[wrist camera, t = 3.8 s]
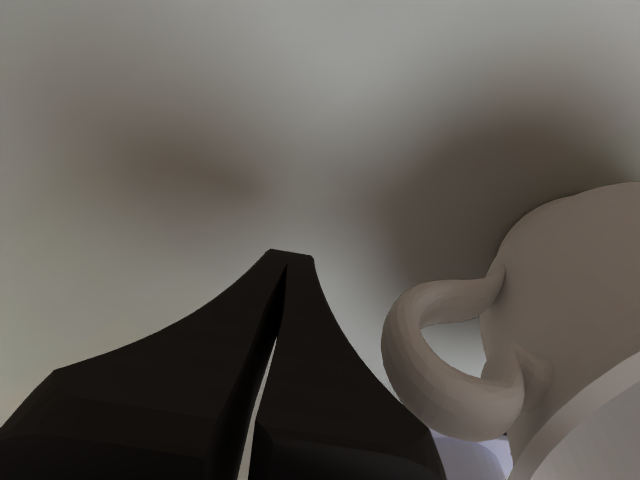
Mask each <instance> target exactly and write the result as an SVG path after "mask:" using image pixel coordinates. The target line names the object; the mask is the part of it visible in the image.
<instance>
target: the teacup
mask: <svg viewBox="0 0 640 480" xmlns="http://www.w3.org/2000/svg"><path fill="white" fill-rule="evenodd" d="M477 316H479V319H480V331H481V336H482V342H483V347H484V351H485V355H486V359H487V361H486V363H485V365H484V368H483V370H482V373H481V378H478V377H474V376H471V375H467V374H465V373H463V372H461V371H459V370H457V369H455V368H453V367H451V366H450V365H448V364H447V363H446V362H444V361H443V360H441V359H440V358H439V357H438V355H437V354H436V353H435V352H434V351H433V350H432V349H431V348H430V347H429V345H428V344H427V342H426V341H425V339H424V338H423V336H422V334H421V331H420V329H422V328H424V327H426V326H430V325H434V324H441V323H453V322H461V321H465V320H469V319H473V318H475V317H477ZM381 352H382V358H383V365H384V368H385V371H386V373H387V376H388V378H389V381H390V383H391V385H392V387H393V389H394V391H395V392H396V394H397V396H398V397H399V399H400V401H401V402H402V403H403V405H404V406H405V407H406V408H407V409H408V410H409V411H410V412H412V413H413V414H414V415H415V416H416V417H417V418H418V419H419V420H420V421H421V422H423V423H424V424H425V425H426V426H427V427H429V428H430V429H432V430H434V431H436V432H438V433H440V434H442V435H444V436H448V437H451V438H455V439H458V440H462V441H469V442H483V441H489V440H494V439H496V438H498V437H500V436H502V435H503V434H504V433H505V432H507V437H508V442H509V446H510V451H511V456H512V460H513V469H512V471H511V473H510V476H509V478H508V480H640V181H637V182H625V183H619V184H613V185H608V186H603V187H598V188H595V189H591V190H588V191H584V192H581V193H579V194H576V195H573V196H568V197H563V198H559V199H556V200H553V201H550V202H548V203H545V204H543V205H541V206H539V207H537V208H535V209H534V210H532V211H531V212H529V213H528V214H526V215H525V216H524V217H522V218H521V219H520V220H519V221H518V222H517V223H516V224H515V225H514V226H513V227H512V228H511V229H510V231H509V232H508V233H507V235H506V236H505V238H504V240H503V241H502V243H501V245H500V248H499V250H498V254H497V255H496V257H495V259H494V260H493V262H492V264H491V266H490V268H489V270H488V272H487V275H486V277H485V278H480V279H473V280H437V281H429V282H425V283H422V284H419V285H416V286H414V287H412V288H411V289H409V290H407V291H406V292H404V293H403V294H402V295H401V296H400V297H399V298H398V299H397V300H396V302H395V303H394V304H393V306H392V308H391V309H390V311H389V313H388V315H387V316H386V319H385V322H384V325H383V331H382V338H381Z"/></svg>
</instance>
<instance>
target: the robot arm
mask: <svg viewBox="0 0 640 480" xmlns="http://www.w3.org/2000/svg"><path fill="white" fill-rule="evenodd" d="M276 337H277V340H276ZM275 340H276V346H275V350H274V354H273V358H272V362H271V365H270V369H269V373H268V377H267V381H266V384H265V388H264V391H263V395H262V398H261V402H260V406H259V409H258V412H257V416H256V419H255V427H254V435H253V443H252V451H251V459H250V467H249V475H248V480H506V477H507V476H508V474H509V473H510V471H511V470H512V469H513V460H512V456H511V451H510V446H509V442H508V437H507V436H505V435H502V436H500V437H498V438H496V439H494V440H489V441H483V442H469V441H462V440H458V439H455V438H451V437H448V436H444V435H442V434H440V433H438V432H436V431H434V430H432V429H430V428H429V427H427V426H426V425H425V424H424V423H423V422H421V421H420V420H419V419H418V418H417V417H416V416H415V415H414V414H413V413H412V412H410V411H409V410H408V409H407V408H406V407H405V406H404V405H403V404H402V403H400V402H399V401H398V400H397V399H396V398H395V397H394V396H393V395H392V394H391V393H390V392H389V391H388V390H387V389H386V387H385V386H384V385H383V384H382V383H381V382H380V381H379V380H378V379H377V378H376V377H375V375H374V374H373V373H372V372H371V370H370V369H369V368H368V367H367V366H366V364H365V363H364V362H363V361H362V360H361V358H360V357H359V356H358V354H357V353H356V351H355V350H354V348H353V347H352V346H351V344H350V343H349V341H348V340H347V338H346V336H345V335H344V333H343V332H342V330H341V328H340V326H339V325H338V323H337V321H336V319H335V317H334V315H333V313H332V311H331V309H330V307H329V305H328V303H327V301H326V298H325V296H324V293H323V291H322V288H321V286H320V283H319V280H318V276H317V273H316V269H315V264H314V259H313V257H312V256H311V255H305V254H299V253H293V252H287V251H281V250H275V249H269V250H268V251H266V252H265V254H264V255H263V256H262V257H261V258H260V259H259V260H258V261H257V262H256V263H255V264H254V265H253V266H252V267H251V268H250V269H249V270H248V271H247V272H246V273H245V274H244V275H243V276H241V277H240V278H239V279H238V280H237V281H236V282H235V283H233V284H232V285H231V286H230V287H228V288H227V289H226V290H225V291H223V292H222V293H221V294H219V295H218V296H217V297H216V298H214V299H213V300H211V301H210V302H209V303H207V304H206V305H204V306H203V307H201V308H200V309H198V310H196V311H195V312H193V313H192V314H190V315H188V316H187V317H185V318H183V319H181V320H179V321H178V322H176V323H174V324H172V325H170V326H168V327H166V328H164V329H162V330H160V331H158V332H156V333H154V334H152V335H150V336H147V337H145V338H143V339H141V340H138V341H136V342H133V343H131V344H128V345H126V346H123V347H121V348H119V349H116V350H113V351H111V352H108V353H105V354H102V355H99V356H96V357H93V358H90V359H87V360H84V361H81V362H78V363H75V364H72V365H69V366H66V367H63V368H59V369H56V370H54V371H53V372H52V373H51V374H50V375H49V376H48V377H47V378H46V379H45V380H44V381H43V382H42V383H41V384H39V385H38V386H37V387H36V388H35V389H34V390H33V392H32V393H31V394H30V395H29V396H28V397H27V398H26V399H25V400H24V402H23V403H22V404H21V405H20V406H19V407H18V408H17V410H16V411H15V412H14V413H13V414H12V415H11V416H10V418H9V419H8V420H7V421H6V422H5V423H4V425H3V426H2V427H1V428H0V480H237V478H238V473H239V469H240V464H241V460H242V455H243V451H244V446H245V442H246V438H247V433H248V429H249V424H250V420H251V415H252V412H253V408H254V405H255V401H256V398H257V395H258V392H259V389H260V386H261V383H262V380H263V377H264V373H265V370H266V367H267V364H268V361H269V358H270V355H271V352H272V349H273V346H274V343H275Z"/></svg>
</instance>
